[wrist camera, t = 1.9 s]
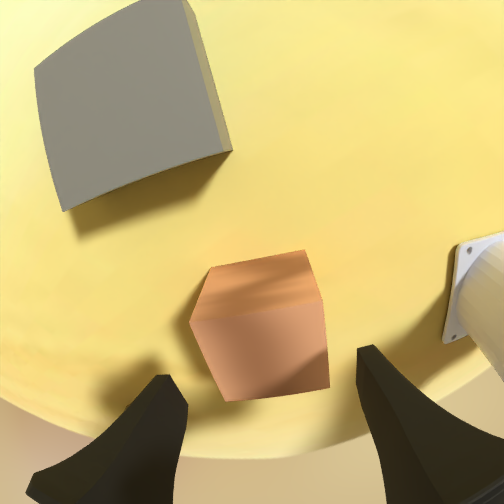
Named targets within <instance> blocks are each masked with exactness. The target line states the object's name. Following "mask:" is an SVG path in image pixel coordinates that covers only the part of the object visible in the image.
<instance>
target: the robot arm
mask: <svg viewBox="0 0 504 504" xmlns="http://www.w3.org/2000/svg"><path fill="white" fill-rule="evenodd" d="M468 248H469V249H468ZM467 249H468V251H467ZM467 335H469V336H470V337H471V338H472V340H473V341H474V342H475V344H476V345H477V346H478V347H479V349H480V350H481V351H482V353H483V354H484V355H485V357H486V358H487V359H488V361H489V362H490V363H491V365H492V366H493V367H494V369H495V370H496V371H497V373H498V374H499V376H500V377H501V379H502V380H503V382H504V231H502V232H499V233H495V234H492V235H488V236H484V237H481V238H477V239H474V240H470V241H466V242H463V243H460V244H459V245H458V246H457V248H456V252H455V264H454V273H453V281H452V288H451V295H450V301H449V307H448V312H447V318H446V322H445V327H444V332H443V336H442V341H443V343H444V344H448V343H451V342H453V341H455V340H458V339H460V338H463V337H465V336H467ZM356 385H357V390H358V394H359V398H360V402H361V406H362V409H363V412H364V414H365V417H366V420H367V423H368V426H369V428H370V431H371V434H372V437H373V439H374V443H375V445H376V449H377V451H378V455H379V459H380V464H381V469H382V474H383V480H384V486H385V493H386V501H387V504H504V439H502V438H500V437H497V436H493V435H491V434H489V433H487V432H484V431H482V430H480V429H478V428H476V427H474V426H472V425H470V424H468V423H466V422H464V421H462V420H460V419H459V418H457V417H455V416H454V415H452V414H451V413H449V412H447V411H446V410H445V409H443V408H442V407H440V406H438V405H437V404H436V403H435V402H433V401H432V400H431V399H429V398H428V397H427V396H426V395H425V394H423V393H422V392H421V391H420V390H419V389H417V388H416V387H415V386H414V385H413V384H412V383H411V382H410V381H409V380H407V379H406V378H405V377H404V376H403V375H402V374H401V373H400V372H399V371H398V370H397V369H396V368H395V367H394V366H393V365H392V364H391V363H390V362H389V361H388V360H387V359H386V357H385V356H384V355H383V354H382V353H381V352H380V351H379V350H378V349H377V347H376V346H374V345H373V344H372V345H368V346H365V347H361V348H357V370H356ZM187 415H188V403H187V402H186V400H185V399H184V397H183V396H182V394H181V392H180V391H179V389H178V388H177V386H176V384H175V383H174V381H173V379H172V378H171V376H170V374H169V375H156V376H155V377H154V378H153V379H152V380H151V382H150V383H149V384H148V385H147V386H146V387H145V388H144V390H143V391H142V392H141V393H140V394H139V395H138V397H137V398H136V399H135V400H134V401H133V402H132V403H131V405H130V406H129V407H128V408H127V409H126V410H125V411H124V412H123V413H122V414H121V415H120V416H119V418H118V419H117V420H116V421H115V422H114V423H113V424H112V425H111V426H110V427H109V428H108V429H107V430H105V431H104V432H103V433H102V434H101V435H100V436H99V437H97V438H96V439H95V440H94V441H93V442H91V443H90V444H89V445H87V446H86V447H84V448H83V449H82V450H80V451H79V452H77V453H76V454H74V455H73V456H71V457H69V458H67V459H66V460H64V461H62V462H60V463H58V464H56V465H54V466H51V467H49V468H46V469H44V470H41V471H39V472H36V473H34V474H33V476H32V478H31V481H30V483H29V485H28V488H27V490H26V494H27V495H28V496H29V497H30V498H32V499H33V500H35V501H36V502H38V503H39V504H173V489H174V478H175V472H176V467H177V463H178V459H179V455H180V451H181V446H182V442H183V438H184V434H185V430H186V424H187Z"/></svg>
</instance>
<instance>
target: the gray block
mask: <svg viewBox="0 0 504 504" xmlns="http://www.w3.org/2000/svg"><path fill="white" fill-rule="evenodd" d="M34 76H35V88H36V97H37V105H38V112H39V119H40V125H41V130H42V136H43V141H44V145H45V150H46V154H47V159H48V163H49V167H50V171H51V175H52V178H53V182H54V185H55V189H56V192H57V196H58V199H59V202H60V205H61V208H62V211H63V212H64V211H67V210H69V209H71V208H73V207H76V206H78V205H80V204H82V203H85V202H87V201H89V200H92V199H94V198H97V197H99V196H101V195H104V194H106V193H108V192H111V191H113V190H116V189H118V188H121V187H123V186H126V185H128V184H131V183H133V182H136V181H138V180H141V179H144V178H146V177H149V176H152V175H155V174H157V173H160V172H163V171H166V170H169V169H172V168H175V167H178V166H181V165H184V164H187V163H190V162H193V161H196V160H200V159H203V158H206V157H210V156H213V155H217V154H220V153H224V152H227V151H231V150H233V148H232V144H231V141H230V137H229V133H228V130H227V126H226V122H225V119H224V115H223V112H222V108H221V104H220V101H219V97H218V94H217V90H216V87H215V83H214V79H213V76H212V72H211V69H210V65H209V62H208V58H207V55H206V51H205V48H204V44H203V41H202V37H201V34H200V30H199V27H198V23H197V20H196V17H195V13H194V11H193V10H192V8H191V6H190V5H189V3H188V1H187V0H140V1H138V2H135V3H133V4H131V5H129V6H127V7H125V8H123V9H121V10H119V11H117V12H116V13H114V14H112V15H110V16H108V17H106V18H105V19H103V20H101V21H99V22H98V23H96V24H94V25H93V26H91V27H90V28H88V29H86V30H85V31H83V32H82V33H80V34H79V35H77V36H76V37H74V38H73V39H71V40H70V41H68V42H67V43H66V44H64V45H63V46H62V47H60V48H59V49H57V50H56V51H55V52H54V53H52V54H51V55H50V56H48V57H47V58H46V59H45V60H43V61H42V62H41V63H40V64H39V65H38V66H36V67H35V68H34Z"/></svg>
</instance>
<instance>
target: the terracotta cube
mask: <svg viewBox="0 0 504 504" xmlns="http://www.w3.org/2000/svg"><path fill="white" fill-rule="evenodd" d="M189 324H190V326H191V329H192V331H193V333H194V336H195V338H196V340H197V343H198V345H199V347H200V349H201V352H202V354H203V356H204V358H205V360H206V363H207V365H208V367H209V369H210V371H211V373H212V375H213V377H214V380H215V382H216V384H217V386H218V388H219V390H220V392H221V394H222V396H223V398H224V400H225V402H227V401H241V400H252V399H262V398H270V397H278V396H285V395H292V394H298V393H304V392H310V391H316V390H321V389H326V388H330V379H329V364H328V351H327V339H326V328H325V318H324V309H323V300H322V297H321V294H320V291H319V288H318V286H317V283H316V280H315V277H314V274H313V271H312V268H311V266H310V263H309V260H308V257H307V254H306V252H305V250H300V251H295V252H289V253H284V254H279V255H274V256H269V257H263V258H258V259H253V260H248V261H243V262H237V263H232V264H227V265H221V266H216V267H211V268H210V271H209V273H208V276H207V278H206V281H205V283H204V286H203V288H202V291H201V293H200V295H199V298H198V300H197V303H196V305H195V308H194V311H193V313H192V316H191V318H190V321H189Z"/></svg>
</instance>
